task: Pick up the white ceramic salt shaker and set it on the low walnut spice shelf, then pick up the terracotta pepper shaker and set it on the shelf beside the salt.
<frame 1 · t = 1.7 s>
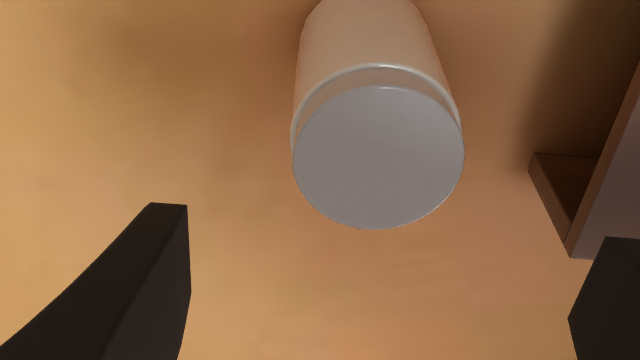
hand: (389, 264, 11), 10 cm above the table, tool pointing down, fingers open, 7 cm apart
salt shaker: (363, 48, 19), on the table
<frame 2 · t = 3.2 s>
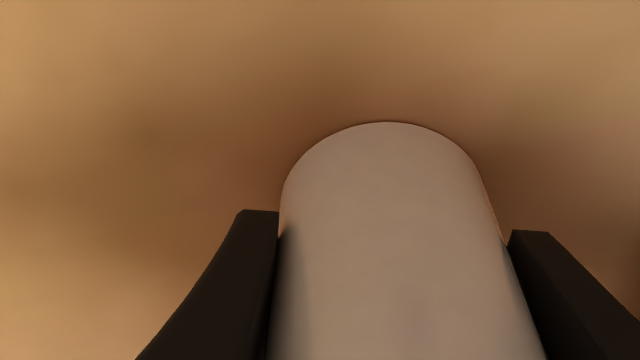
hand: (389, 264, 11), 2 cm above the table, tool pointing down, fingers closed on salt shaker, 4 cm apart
salt shaker: (381, 208, 12), on the table, touching gripper
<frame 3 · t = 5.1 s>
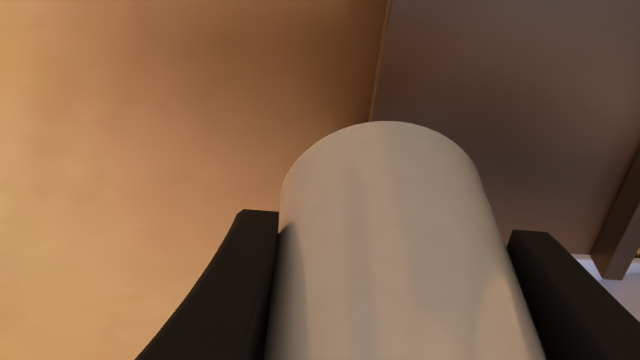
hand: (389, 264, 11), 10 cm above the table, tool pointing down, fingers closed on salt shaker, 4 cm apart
salt shaker: (380, 207, 12), point 8 cm above the table, touching gripper
when the fingers open (6 cm above the table, at t = 7.0 s): salt shaker stays where it is, resting on shelf.
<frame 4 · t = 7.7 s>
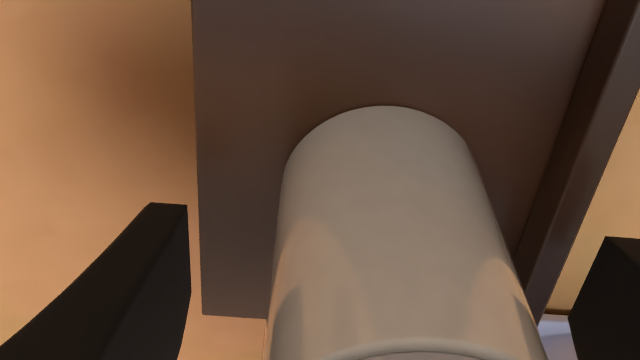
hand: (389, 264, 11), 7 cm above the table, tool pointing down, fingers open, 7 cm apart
salt shaker: (379, 191, 12), point 4 cm above the table, touching shelf
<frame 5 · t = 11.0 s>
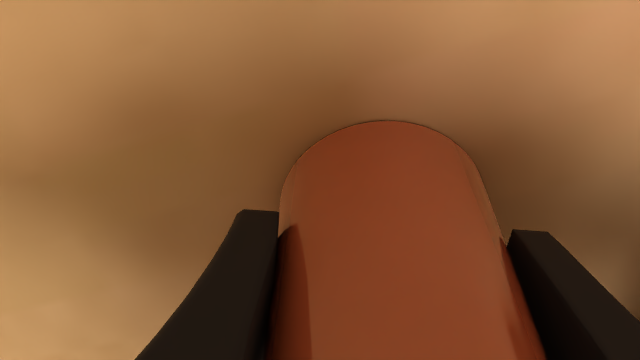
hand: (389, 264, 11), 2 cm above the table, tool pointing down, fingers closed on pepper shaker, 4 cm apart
pepper shaker: (381, 208, 12), on the table, touching gripper
when the fingers open (6 cm above the table, at t = 14.7 s): pepper shaker stays where it is, resting on shelf.
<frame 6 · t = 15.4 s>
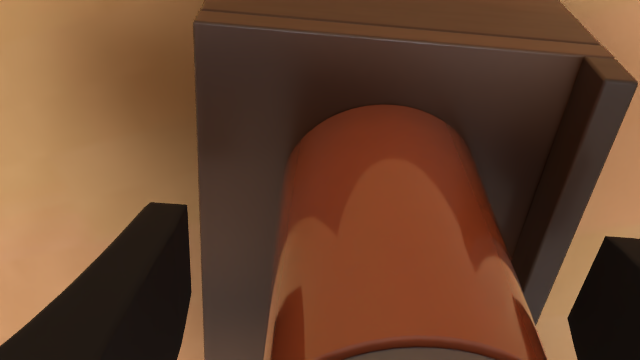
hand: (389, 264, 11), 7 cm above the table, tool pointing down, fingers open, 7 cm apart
pepper shaker: (378, 190, 12), point 4 cm above the table, touching shelf
shelf: (350, 216, 19), on the table
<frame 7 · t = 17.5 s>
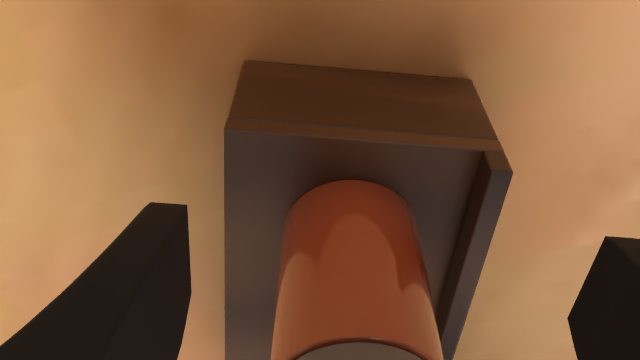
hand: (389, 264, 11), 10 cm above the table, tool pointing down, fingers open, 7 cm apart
pepper shaker: (350, 234, 18), point 4 cm above the table, touching shelf
shelf: (335, 243, 24), on the table
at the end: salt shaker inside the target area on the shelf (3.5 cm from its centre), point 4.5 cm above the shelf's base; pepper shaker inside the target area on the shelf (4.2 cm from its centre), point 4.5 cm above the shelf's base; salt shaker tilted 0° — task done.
